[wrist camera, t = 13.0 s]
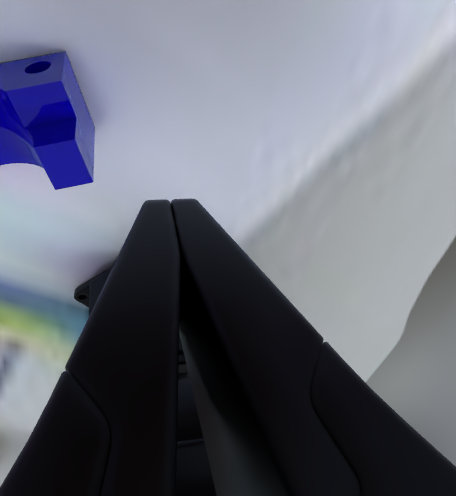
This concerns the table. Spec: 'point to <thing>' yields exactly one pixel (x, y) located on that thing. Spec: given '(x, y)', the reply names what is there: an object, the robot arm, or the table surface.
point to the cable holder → (46, 119)
